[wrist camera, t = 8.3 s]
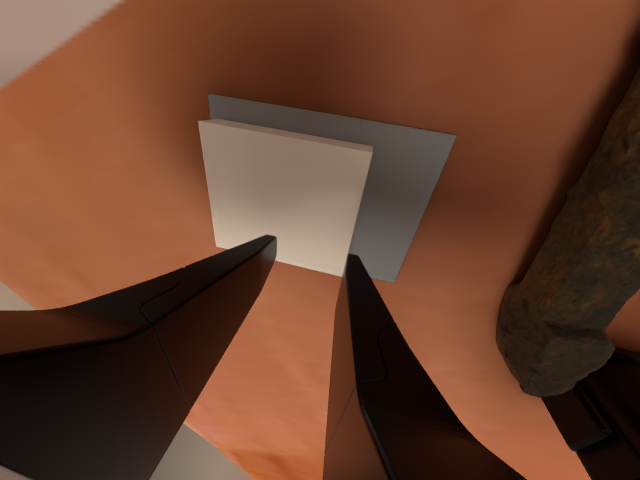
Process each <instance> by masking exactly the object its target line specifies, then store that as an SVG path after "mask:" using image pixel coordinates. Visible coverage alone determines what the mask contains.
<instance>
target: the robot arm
mask: <svg viewBox="0 0 640 480" xmlns="http://www.w3.org/2000/svg"><path fill="white" fill-rule="evenodd" d="M276 255H277V237H276V236H272V235H268V234H266V235H264V236H261V237H259V238H256V239H253V240H251V241H248V242H246V243H243V244H241V245H238V246H236V247H233V248H231V249H228V250H226V251H223V252H221V253H218V254H215V255H213V256H210V257H208V258H205V259H203V260H200V261H198V262H195V263H193V264H190V265H188V266H185V268H180V269H177V270H175V271H172V272H170V273H167V274H164V275H162V276H159V277H156V278H154V279H151V280H148V281H145V282H142V283H139V284H136V285H133V286H130V287H127V288H124V289H121V290H118V291H115V292H112V293H108V294H105V295H102V296H99V297H96V298H93V299H90V300H87V301H84V302H81V303H77V304H74V305H70V306H66V307H61V308H55V309H48V310H34V311H0V480H149V479H150V477H151V476H152V474H153V472H154V471H155V469H156V467H157V466H158V464H159V462H160V461H161V459H162V457H163V456H164V454H165V452H166V451H167V449H168V447H169V446H170V444H171V442H172V440H173V439H174V437H175V435H176V434H177V432H178V430H179V429H180V427H181V425H182V424H183V422H184V420H185V419H186V417H187V415H188V414H189V412H190V409H191V408H192V407H193V405H194V403H195V402H196V400H197V398H198V396H199V395H200V393H201V391H202V390H203V388H204V386H205V385H206V383H207V381H208V380H209V378H210V376H211V375H212V373H213V371H214V370H215V368H216V366H217V365H218V363H219V361H220V359H221V358H222V356H223V354H224V353H225V351H226V349H227V348H228V346H229V344H230V343H231V341H232V339H233V338H234V336H235V334H236V333H237V331H238V329H239V328H240V326H241V324H242V322H243V321H244V319H245V317H246V316H247V314H248V312H249V311H250V309H251V307H252V306H253V304H254V302H255V301H256V299H257V297H258V296H259V294H260V292H261V290H262V288H263V286H264V284H265V282H266V279H267V277H268V275H269V272H270V270H271V268H272V266H273V263H274V261H275V259H276ZM520 387H521V389H522V391H523V392H524V393H526V394H529V395H533V396H536V397H540V396H538V395H537V394H535V393H531V392H528V391H527V390H526V389H525V388H524V387H523V386H522V385H521V384H520ZM540 398H542V400H543V402H544V404H545V406H546V407H547V409H548V411H549V413H550V415H551V416H552V418H553V420H554V422H555V424H556V425H557V427H558V429H559V431H560V433H561V434H562V436H563V438H564V440H565V442H566V443H567V445H568V447H569V448H570V449H571V450H572V451H575V452H576V453H577V455H578V457H579V459H580V460H581V462H582V464H583V466H584V467H585V469H586V471H587V473H588V475H589V476H590V478H591V480H640V354H638V353H634V352H630V351H626V350H622V349H618V348H615V350H614V352H613V354H612V355H611V357H610V358H609V359H608V361H607V362H606V363H605V364H604V365H603V366H602V367H601V368H599V369H598V370H596V371H593V372H591V373H589V374H588V376H587V377H585V378H583V379H581V380H578V381H577V383H576V385H575V386H574V387H573V388H572V389H570V390H569V391H567V392H565V393H562V394H559V395H551V396H547V397H540ZM323 480H527V479H525V478H524V477H523V476H522V475H520V474H519V473H518V472H516V471H515V470H514V469H513V468H511V467H510V466H509V465H507V464H506V463H505V462H504V461H502V460H501V459H500V458H498V457H497V456H496V455H495V454H493V453H492V452H491V451H489V450H488V449H487V448H486V447H485V446H483V445H482V444H481V443H480V442H479V441H478V440H477V439H476V438H475V437H474V436H473V435H472V434H471V433H470V432H469V431H468V430H467V429H466V427H465V426H464V425H463V424H462V423H461V421H460V420H459V419H458V417H457V416H456V415H455V413H454V412H453V411H452V409H451V408H450V406H449V405H448V403H447V402H446V400H445V399H444V398H443V396H442V395H441V393H440V392H439V390H438V389H437V387H436V386H435V384H434V383H433V382H432V380H431V379H430V377H429V376H428V374H427V373H426V371H425V370H424V368H423V367H422V366H421V364H420V363H419V361H418V360H417V358H416V356H415V355H414V353H413V352H412V350H411V349H410V347H409V346H408V344H407V342H406V341H405V339H404V337H403V335H402V334H401V332H400V330H399V328H398V327H397V325H396V323H395V322H394V319H393V318H392V316H391V314H390V312H389V310H388V308H387V307H386V305H385V303H384V301H383V299H382V298H381V296H380V294H379V292H378V290H377V288H376V287H375V285H374V283H373V281H372V279H371V277H370V276H369V274H368V272H367V270H366V268H365V267H364V265H363V263H362V261H361V259H360V257H359V256H358V255H354V254H350V253H349V254H347V258H346V262H345V266H344V270H343V274H342V279H341V284H340V289H339V294H338V298H337V303H336V309H335V320H334V334H333V347H332V361H331V374H330V388H329V401H328V415H327V428H326V442H325V456H324V468H323Z"/></svg>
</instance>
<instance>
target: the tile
mask: <svg viewBox="0 0 640 480" xmlns="http://www.w3.org/2000/svg"><path fill="white" fill-rule="evenodd" d="M198 125H199V132H200V139H201V146H202V153H203V159H204V166H205V173H206V180H207V187H208V194H209V200H210V207H211V214H212V221H213V228H214V234H215V241H216V246H217V247H221V248H225V249H231V248H233V247H236V246H238V245H241V244H243V243H246V242H248V241H251V240H253V239H256V238H259V237H261V236H264V235H266V234H268V235H272V236H276V237H277V255H276V259H275V261H279V262H283V263H287V264H291V265H295V266H300V267H304V268H308V269H312V270H316V271H320V272H324V273H328V274H333V275H337V276H341V277H342V274H343V270H344V266H345V262H346V258H347V254H348V251H349V246H350V242H351V238H352V234H353V230H354V226H355V222H356V218H357V214H358V210H359V206H360V202H361V198H362V194H363V190H364V186H365V182H366V178H367V174H368V170H369V166H370V162H371V158H372V154H373V146H369V145H363V144H358V143H352V142H346V141H341V140H335V139H330V138H324V137H318V136H313V135H307V134H302V133H296V132H290V131H285V130H279V129H274V128H268V127H262V126H257V125H251V124H245V123H240V122H234V121H229V120H223V119H211V120H202V121H198Z"/></svg>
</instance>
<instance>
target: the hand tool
mask: <svg viewBox="0 0 640 480" xmlns="http://www.w3.org/2000/svg"><path fill="white" fill-rule="evenodd" d="M639 46H640V39H639ZM639 289H640V68H639V70H638V71H637V73H636V75H635V77H634V79H633V81H632V83H631V85H630V87H629V89H628V91H627V93H626V95H625V97H624V98H623V100H622V101H621V103H620V104H619V106H618V107H617V109H616V111H615V112H614V114H613V115H612V117H611V119H610V121H609V124H608V126H607V128H606V130H605V132H604V134H603V136H602V137H601V142H600V144H599V146H598V148H597V150H596V152H595V153H594V155H593V157H592V158H591V160H590V162H589V163H588V165H587V167H586V168H585V170H584V172H583V173H582V175H581V177H580V179H579V180H578V182H577V183H576V184H575V185H573V186H572V187H571V188H570V189H569V190H568V191H567V201H566V203H565V204H564V206H563V208H562V210H561V211H560V213H559V215H558V217H557V218H556V219H555V221H554V222H553V224H552V226H551V229H550V232H549V234H548V236H547V237H546V239H545V241H544V243H543V245H542V246H541V248H540V250H539V252H538V253H537V255H536V257H535V258H534V260H533V262H532V264H531V266H530V267H529V269H528V271H527V273H526V275H525V277H524V279H523V280H521V281H516V282H514V283H512V284H510V285H508V287H507V289H506V292H505V294H504V296H503V299H502V303H501V306H500V311H499V317H498V324H497V341H496V342H497V346H498V349H499V351H500V353H501V355H502V356H503V358H504V361H505V362H506V364H507V366H508V368H509V370H510V372H511V374H512V375H513V376H514V377H515V378H516V379H517V381H518V382H519V383H520V384H521V385H522V386H523V387H524V388H525V389H526V390H527V391H528V392H531V393H535V394H537V395H538V396H540V397H547V396H551V395H559V394H562V393H565V392H567V391H569V390H570V389H572V388H573V387H574V386H575V385H576V383H577V381H578V380H581V379H583V378H585V377H587V376H588V374H589V373H591V372H593V371H596V370H598V369H599V368H601V367H602V366H603V365H604V364H605V363H606V362H607V361H608V359H609V358H610V357H611V355H612V354H613V352H614V350H615V347H614V345H613V343H612V342H611V341H610V340H609V338H608V337H607V335H606V334H605V332H604V331H605V329H606V328H607V326H608V325H609V324H610V323H611V321H612V320H613V319H614V317H615V315H616V314H617V312H618V311H619V310H620V309H621V308H622V306H623V305H624V304H625V302H626V301H627V300H628V299H629V298H631V297H632V296H633V295H634V294H636V293H637V291H638V290H639Z"/></svg>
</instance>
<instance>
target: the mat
mask: <svg viewBox="0 0 640 480" xmlns="http://www.w3.org/2000/svg"><path fill="white" fill-rule="evenodd" d="M208 100H209V108H210V117H211V119H223V120H229V121H234V122H240V123H245V124H251V125H257V126H262V127H268V128H274V129H279V130H285V131H290V132H296V133H302V134H307V135H313V136H318V137H324V138H330V139H335V140H341V141H346V142H352V143H358V144H363V145H369V146H373V154H372V158H371V162H370V166H369V170H368V174H367V178H366V182H365V186H364V190H363V194H362V198H361V202H360V206H359V210H358V214H357V218H356V222H355V226H354V230H353V234H352V238H351V242H350V246H349V251H348V254H349V253H350V254H354V255H358V256H359V257H360V259H361V261H362V263H363V265H364V267H365V268H366V270H367V272H368V274H369V276H370V277H371V278H374V279H378V280H382V281H386V282H391V283H394V282H395V280H396V277H397V275H398V273H399V270H400V268H401V266H402V263H403V261H404V259H405V256H406V254H407V252H408V249H409V247H410V245H411V242H412V240H413V238H414V235H415V233H416V231H417V228H418V226H419V223H420V221H421V219H422V216H423V214H424V212H425V209H426V207H427V205H428V202H429V200H430V198H431V195H432V193H433V191H434V188H435V186H436V184H437V181H438V179H439V177H440V174H441V172H442V169H443V167H444V165H445V162H446V160H447V158H448V155H449V153H450V151H451V148H452V146H453V144H454V141H455V139H456V137H457V136H456V135H454V134H449V133H443V132H437V131H431V130H425V129H419V128H413V127H407V126H401V125H395V124H389V123H383V122H377V121H371V120H365V119H359V118H353V117H347V116H341V115H335V114H329V113H323V112H317V111H311V110H305V109H299V108H293V107H287V106H281V105H275V104H269V103H263V102H257V101H251V100H245V99H239V98H233V97H227V96H221V95H215V94H208Z"/></svg>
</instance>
